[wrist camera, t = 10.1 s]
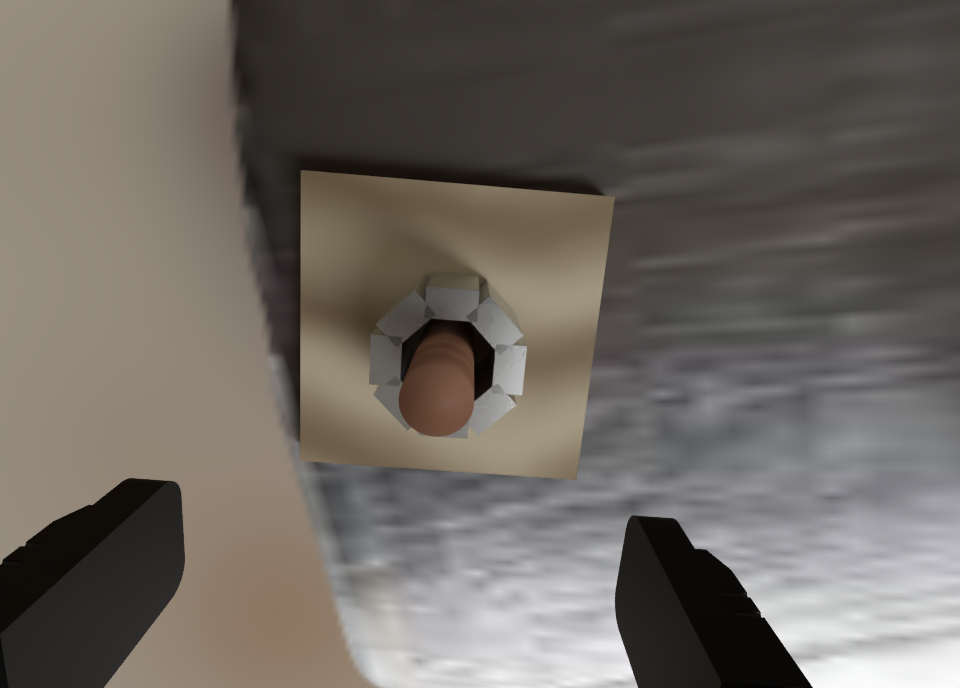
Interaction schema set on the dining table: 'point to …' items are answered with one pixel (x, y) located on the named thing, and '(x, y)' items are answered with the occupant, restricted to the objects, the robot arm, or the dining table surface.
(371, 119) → the dining table surface
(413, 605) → the dining table surface
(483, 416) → the ring
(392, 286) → the post stand
